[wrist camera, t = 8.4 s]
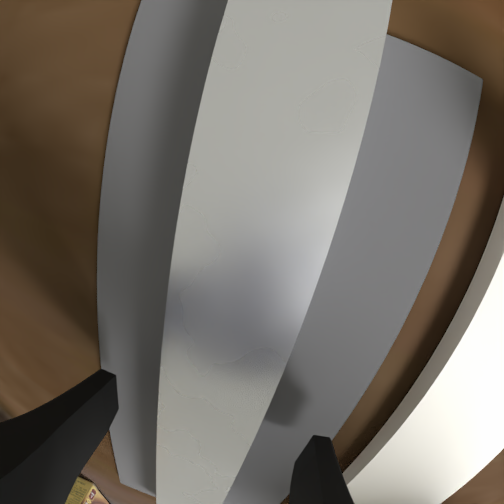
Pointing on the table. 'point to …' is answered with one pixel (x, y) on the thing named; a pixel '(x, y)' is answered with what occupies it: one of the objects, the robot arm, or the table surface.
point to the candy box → (85, 493)
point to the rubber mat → (337, 261)
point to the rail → (257, 223)
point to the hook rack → (445, 404)
